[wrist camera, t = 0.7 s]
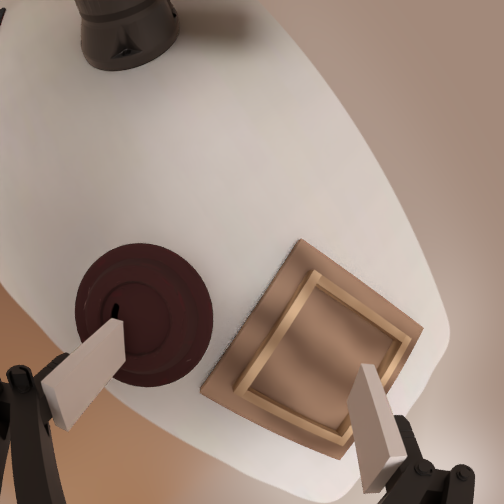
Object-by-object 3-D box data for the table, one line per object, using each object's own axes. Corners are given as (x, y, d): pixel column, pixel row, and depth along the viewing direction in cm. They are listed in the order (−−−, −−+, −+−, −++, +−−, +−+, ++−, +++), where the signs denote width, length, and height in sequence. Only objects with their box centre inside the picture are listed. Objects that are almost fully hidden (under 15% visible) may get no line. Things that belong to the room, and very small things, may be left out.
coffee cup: (231, 297, 34) (245, 306, 19) (177, 367, 32) (154, 423, 17) (159, 241, 33) (122, 208, 18) (108, 311, 32) (41, 326, 17)
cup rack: (297, 240, 35) (306, 235, 32) (417, 327, 36) (433, 329, 33) (200, 388, 32) (199, 399, 28) (335, 455, 33) (345, 467, 29)
